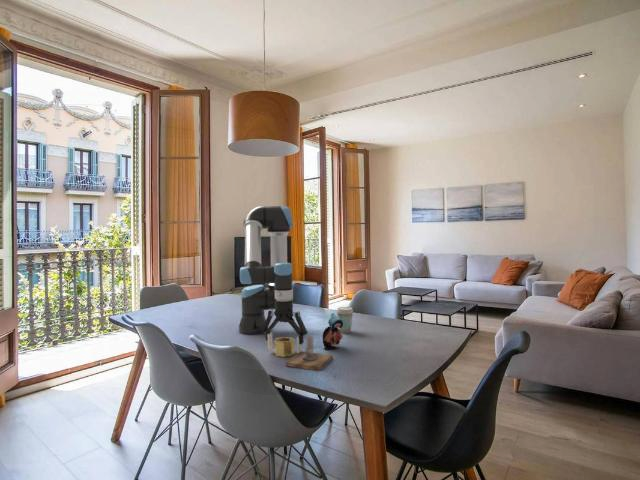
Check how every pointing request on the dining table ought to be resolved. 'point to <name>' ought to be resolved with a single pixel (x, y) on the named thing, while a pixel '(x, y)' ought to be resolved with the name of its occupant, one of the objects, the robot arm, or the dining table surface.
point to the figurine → (332, 333)
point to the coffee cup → (345, 318)
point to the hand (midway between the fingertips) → (284, 350)
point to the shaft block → (309, 358)
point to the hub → (284, 346)
